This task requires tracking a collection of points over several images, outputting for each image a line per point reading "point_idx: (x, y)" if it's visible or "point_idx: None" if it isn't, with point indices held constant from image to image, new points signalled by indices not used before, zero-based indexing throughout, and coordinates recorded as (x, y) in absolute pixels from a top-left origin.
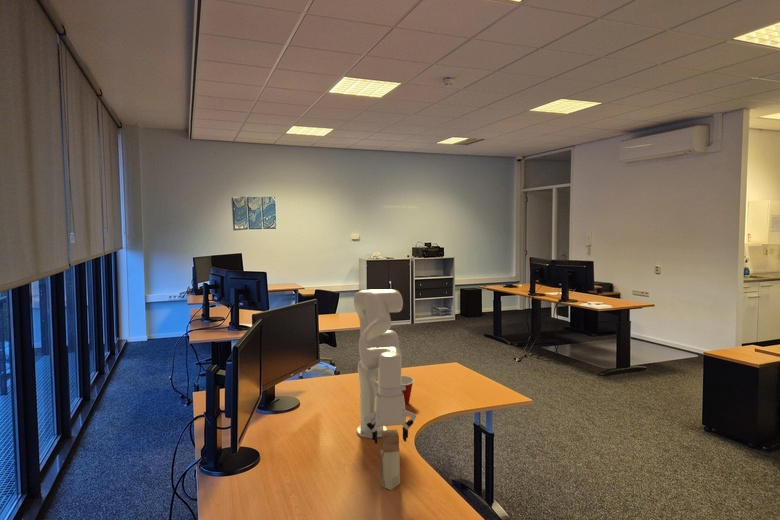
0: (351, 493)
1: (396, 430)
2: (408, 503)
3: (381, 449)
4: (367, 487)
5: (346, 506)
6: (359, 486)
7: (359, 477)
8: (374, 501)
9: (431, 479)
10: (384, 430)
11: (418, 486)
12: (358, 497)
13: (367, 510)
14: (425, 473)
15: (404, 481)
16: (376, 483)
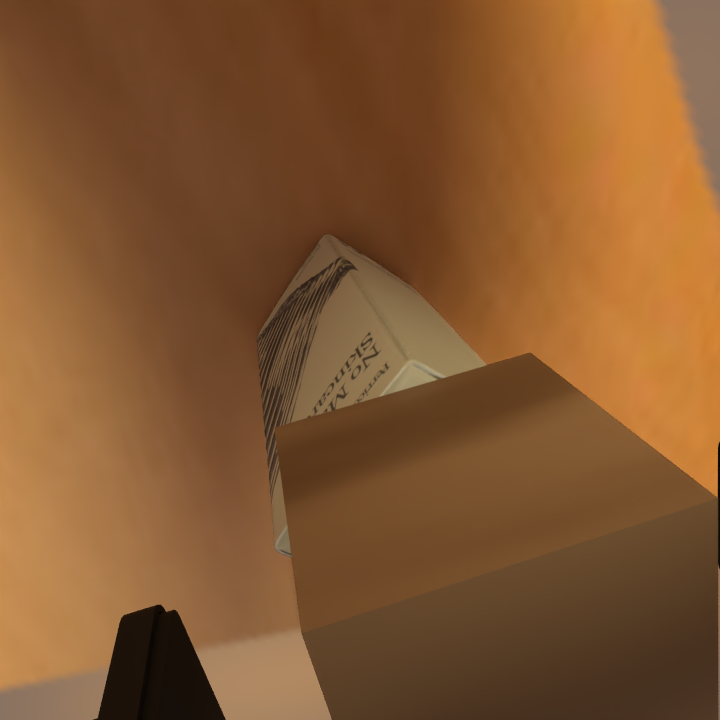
0: (26, 469)
1: (708, 545)
2: None
3: (288, 551)
4: (140, 370)
5: (48, 614)
6: (62, 365)
7: (8, 214)
8: (240, 529)
9: (668, 184)
10: (380, 604)
11: (555, 300)
12: (104, 507)
13: (212, 621)
14: (636, 82)
15: (448, 239)
16: (206, 299)
